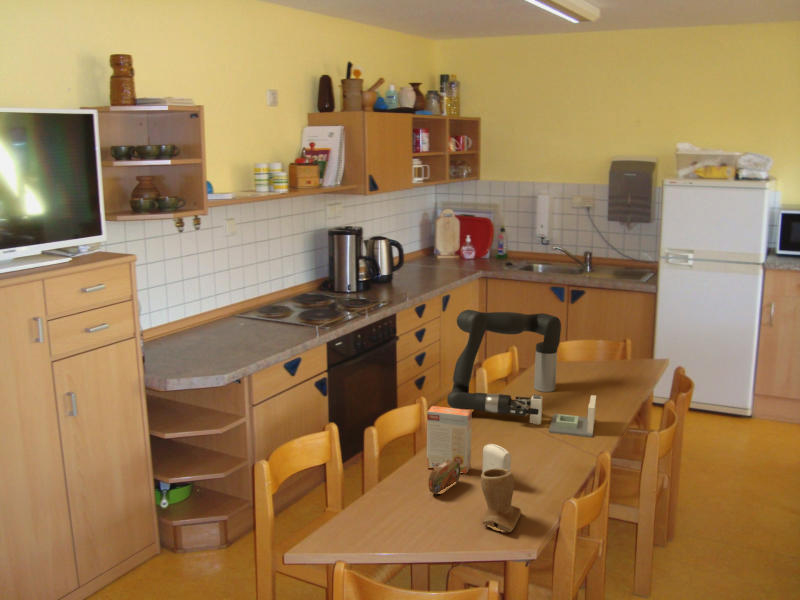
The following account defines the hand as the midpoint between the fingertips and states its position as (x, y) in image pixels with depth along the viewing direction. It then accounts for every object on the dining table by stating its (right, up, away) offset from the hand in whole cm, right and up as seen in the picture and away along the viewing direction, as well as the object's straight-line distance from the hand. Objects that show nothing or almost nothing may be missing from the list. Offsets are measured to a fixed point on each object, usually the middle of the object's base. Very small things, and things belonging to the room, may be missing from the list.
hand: (539, 408), depth 301 cm
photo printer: (-23, -17, -48) cm, 56 cm away
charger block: (-1, -6, +2) cm, 6 cm away
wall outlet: (+12, -7, -2) cm, 14 cm away
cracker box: (-38, -15, -38) cm, 56 cm away
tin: (-40, -19, -53) cm, 69 cm away
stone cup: (-25, -23, -73) cm, 80 cm away
